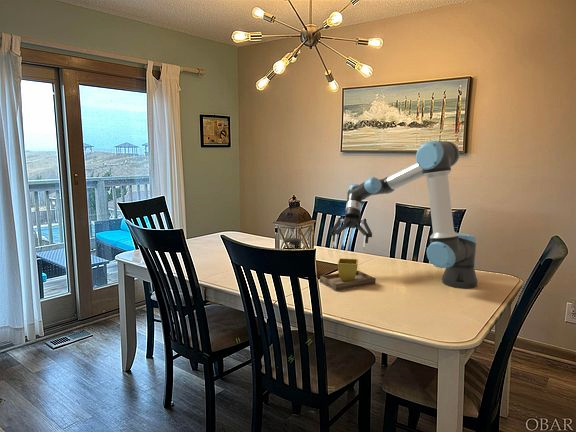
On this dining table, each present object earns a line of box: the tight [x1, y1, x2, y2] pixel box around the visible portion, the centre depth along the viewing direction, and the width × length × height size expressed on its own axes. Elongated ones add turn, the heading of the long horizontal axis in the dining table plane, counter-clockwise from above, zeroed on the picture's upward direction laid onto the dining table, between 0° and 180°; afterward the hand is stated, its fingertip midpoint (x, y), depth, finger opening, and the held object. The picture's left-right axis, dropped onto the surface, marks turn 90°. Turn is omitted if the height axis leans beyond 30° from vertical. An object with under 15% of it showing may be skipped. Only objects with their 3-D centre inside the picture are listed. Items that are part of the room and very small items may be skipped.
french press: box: [283, 228, 303, 250], centre depth 219 cm, size 12×9×23 cm
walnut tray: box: [319, 269, 376, 292], centre depth 202 cm, size 14×21×3 cm, turn 116°
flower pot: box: [337, 258, 359, 282], centre depth 201 cm, size 9×9×9 cm
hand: (349, 247), depth 207 cm, fingers open, 13 cm apart
